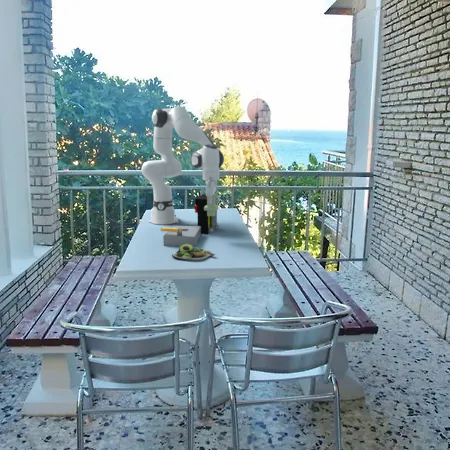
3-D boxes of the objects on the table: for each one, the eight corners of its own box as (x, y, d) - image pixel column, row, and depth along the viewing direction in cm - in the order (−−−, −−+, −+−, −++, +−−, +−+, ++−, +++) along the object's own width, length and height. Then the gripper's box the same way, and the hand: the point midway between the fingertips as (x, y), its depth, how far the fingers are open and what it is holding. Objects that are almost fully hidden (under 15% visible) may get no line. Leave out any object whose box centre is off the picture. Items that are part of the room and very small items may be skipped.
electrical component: (212, 234, 259) (211, 199, 255) (194, 233, 261) (194, 198, 257) (218, 227, 276) (218, 194, 271) (202, 227, 278) (201, 194, 273)
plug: (205, 213, 248) (205, 194, 246) (218, 214, 248) (218, 194, 245) (204, 216, 241) (203, 196, 239) (217, 216, 241) (217, 196, 239)
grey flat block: (172, 234, 259) (172, 225, 258) (201, 235, 258) (200, 226, 257) (163, 245, 236) (163, 235, 235) (194, 246, 234) (194, 236, 233)
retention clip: (160, 234, 237) (160, 228, 236) (162, 233, 240) (162, 227, 239) (181, 235, 234) (180, 229, 234) (182, 234, 237) (182, 228, 236)
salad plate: (221, 253, 222) (221, 244, 221) (206, 264, 206) (206, 254, 205) (185, 249, 229) (185, 240, 228) (168, 259, 213) (167, 249, 212)
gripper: (215, 178, 230) (215, 206, 233) (218, 174, 250) (218, 199, 253) (202, 178, 230) (203, 205, 233) (207, 174, 250) (207, 199, 253)
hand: (211, 202), depth 243 cm, fingers closed on plug, 4 cm apart
